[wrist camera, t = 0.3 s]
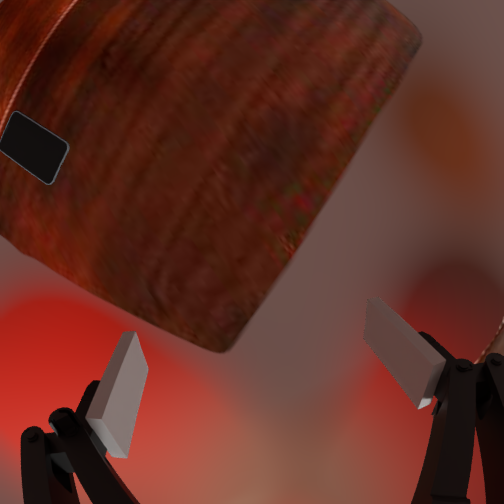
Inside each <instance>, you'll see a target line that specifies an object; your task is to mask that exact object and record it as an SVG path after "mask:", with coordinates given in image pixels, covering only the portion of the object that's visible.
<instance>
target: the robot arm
mask: <svg viewBox="0 0 504 504" xmlns="http://www.w3.org/2000/svg"><path fill="white" fill-rule="evenodd" d="M364 340H365V341H366V342H367V344H368V345H369V346H370V347H371V349H372V350H373V351H374V353H375V354H376V355H377V356H378V358H379V359H380V360H381V361H382V363H383V364H384V365H385V367H386V368H387V369H388V371H389V372H390V373H391V374H392V376H393V377H394V378H395V380H396V381H397V382H398V384H399V385H400V386H401V387H402V389H403V390H404V391H405V393H406V394H407V395H408V397H409V398H410V399H411V401H412V402H413V403H414V405H415V406H416V407H417V409H420V408H422V407H424V406H426V405H429V404H430V403H431V401H432V398H433V396H435V397H436V398H437V399H438V401H437V403H436V405H435V407H434V410H433V412H432V415H434V418H433V423H432V429H431V434H430V439H429V443H428V447H427V451H426V456H425V459H424V463H423V467H422V471H421V474H420V478H419V481H418V484H417V488H416V491H415V493H414V496H413V499H412V502H411V504H470V499H467V497H466V494H467V489H468V483H469V477H470V471H471V464H472V456H473V447H474V435H475V427H476V431H477V436H478V442H479V447H480V452H481V459H482V466H483V474H484V482H485V492H486V504H504V356H502V355H501V354H498V353H491V354H488V355H487V357H486V359H485V362H484V363H479V364H473V363H472V362H471V361H469V360H466V359H455V358H454V357H453V356H452V355H451V354H450V353H449V352H448V351H447V350H446V349H445V348H444V347H443V346H441V345H440V344H439V343H438V342H436V340H435V339H434V338H433V337H431V336H430V335H429V334H427V333H425V332H418V333H417V332H416V331H415V330H414V329H413V328H412V327H411V326H410V325H409V324H408V323H407V322H406V321H404V320H403V319H402V318H401V317H400V316H399V315H398V314H397V313H396V312H395V311H393V310H392V309H391V308H390V307H389V306H388V305H387V304H386V303H385V302H383V301H382V300H381V299H380V298H379V297H376V298H371V299H367V308H366V319H365V329H364ZM147 374H148V367H147V364H146V361H145V358H144V355H143V352H142V349H141V346H140V343H139V340H138V337H137V334H136V331H130V332H123V333H122V336H121V338H120V340H119V342H118V344H117V346H116V348H115V350H114V352H113V355H112V357H111V359H110V361H109V364H108V366H107V368H106V370H105V372H104V374H103V377H102V379H101V381H98V380H93V381H92V382H91V383H90V384H89V385H88V387H87V388H86V390H85V392H84V396H82V399H81V401H80V403H79V405H78V407H77V410H76V412H75V413H74V411H73V410H72V409H70V408H64V407H63V408H59V409H57V410H55V411H53V412H52V414H51V415H50V417H49V420H48V421H49V425H50V426H51V427H52V429H53V430H54V432H53V433H44V432H43V430H41V428H39V427H37V426H32V427H29V428H27V429H26V430H24V432H23V433H22V435H21V475H22V488H23V498H24V504H80V502H79V498H78V494H77V490H76V486H75V482H74V477H73V472H75V473H76V475H77V477H78V479H79V481H80V483H81V484H82V486H83V488H84V490H85V492H86V493H87V495H88V497H89V498H90V500H91V502H92V503H93V504H140V503H139V502H138V501H137V499H136V498H135V497H134V496H133V494H132V493H131V492H130V490H129V489H128V488H127V487H126V485H125V484H124V482H123V481H122V480H121V478H120V477H119V476H118V474H117V473H116V471H115V470H114V469H113V467H112V466H111V464H110V463H109V461H108V460H107V459H106V457H105V455H106V451H108V452H109V453H110V455H111V456H112V457H118V458H127V457H128V453H129V448H130V444H131V439H132V435H133V430H134V425H135V421H136V417H137V413H138V408H139V405H140V401H141V397H142V393H143V389H144V385H145V381H146V378H147Z"/></svg>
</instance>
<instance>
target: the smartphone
mask: <svg viewBox="0 0 504 504" xmlns="http://www.w3.org/2000/svg"><path fill="white" fill-rule="evenodd" d="M0 151H1V152H3V153H4V154H5V155H7V156H8V157H9V158H11V159H12V160H13V161H15V162H16V163H17V164H19V165H20V166H21V167H23V168H24V169H25V170H27V171H28V172H30V173H31V174H32V175H34V176H35V177H37V178H38V179H39V180H41V181H42V182H44V183H45V184H47V185H50V184H52V183H53V182H54V180H55V178H56V176H57V174H58V172H59V169H60V166H61V164H62V163H63V161H64V159H65V157H66V155H67V153H68V151H69V144H68V142H67V141H65V140H64V139H62V138H60V137H59V136H57V135H56V134H54V133H53V132H51V131H49V130H48V129H46V128H45V127H43V126H42V125H40V124H38V123H37V122H35V121H34V120H32V119H31V118H29V117H27V116H26V115H24V114H23V113H21V112H19V111H14V112H13V113H12V115H11V117H10V119H9V121H8V123H7V126H6V128H5V130H4V133H3V135H2V137H1V140H0Z"/></svg>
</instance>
